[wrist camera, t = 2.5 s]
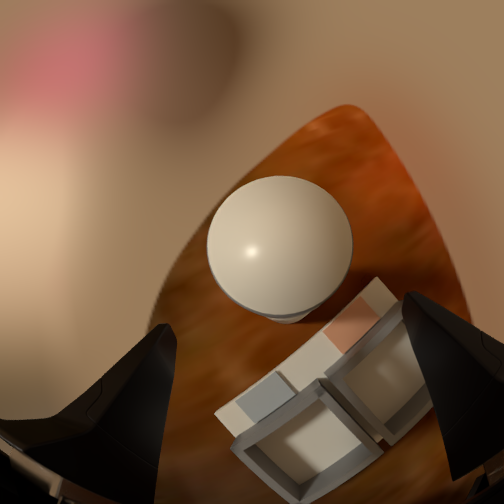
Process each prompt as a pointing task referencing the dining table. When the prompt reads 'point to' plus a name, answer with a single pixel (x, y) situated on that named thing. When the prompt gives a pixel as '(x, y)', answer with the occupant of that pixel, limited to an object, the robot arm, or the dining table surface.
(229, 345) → the dining table surface
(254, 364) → the dining table surface
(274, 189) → the plug
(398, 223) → the dining table surface
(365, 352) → the socket board
